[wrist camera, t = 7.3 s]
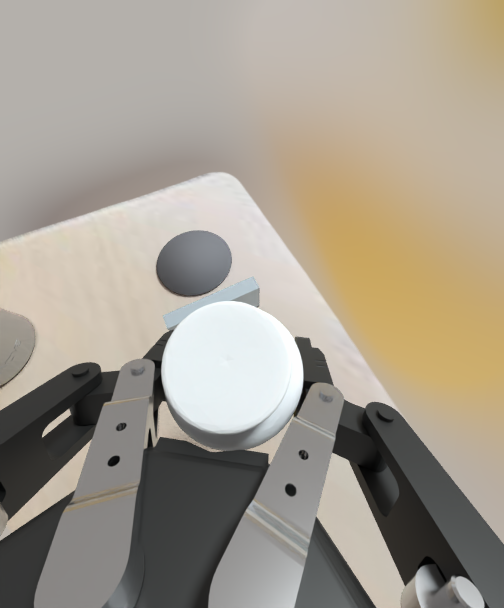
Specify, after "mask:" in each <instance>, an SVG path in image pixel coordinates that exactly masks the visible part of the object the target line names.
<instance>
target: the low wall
mask: <svg viewBox="0 0 504 608" xmlns="http://www.w3.org/2000/svg"><path fill="white" fill-rule="evenodd" d="M223 301H236V302H242V303H246V304H249V305H252V306H254V307H258V306H259V286H258V284H257V282H256V281H255V279H254V277H251V278H248V279H246V280H244V281H241V282H239V283H237V284H234V285H232V286H230V287H228V288H225V289H223V290H221V291H218V292H216V293H214V294H211V295H209V296H207V297H205V298H202V299H200V300H198V301H195V302H193V303H191V304H188V305H186V306H184V307H182V308H179V309H177V310H175V311H172V312H170V313H168V314H165V315H163V318H164V321H165V323H166V326H167V329H168V330H170V331H171V330H175V328H176V327H177V326H178V325H179V324H180V323H181V321H182V320H183V319H185V318H186V317H187V316H188V315H190V314H191V313H192V312H194V311H195V310H197V309H199V308H201V307H203V306H206V305H209V304H212V303H216V302H223Z"/></svg>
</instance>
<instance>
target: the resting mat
mask: <svg viewBox="0 0 504 608" xmlns="http://www.w3.org/2000/svg"><path fill="white" fill-rule="evenodd" d="M231 263H232V257H231V252H230V249H229V247H228V245H227V244H226V242H225V241H224V240H223V239H222V238H221V237H219V236H218V235H216V234H214V233H211V232H208V231H199V230H198V231H189V232H185V233H182V234H180V235H178V236H176V237H174V238H173V239H172V240H170V241H169V242H168V243H167V244H166V245H165V246H164V247H163V249H162V250H161V252H160V254H159V257H158V260H157V272H158V275H159V277H160V279H161V281H162V282H163V284H164V285H165V286H166V287H167V288H169V289H170V290H172V291H173V292H175V293H178V294H182V295H200V294H203V293H206V292H209V291H211V290H213V289H214V288H216V287H217V286H219V285H220V284H221V283H222V282H223V281H224V279H225V278H226V277H227V275H228V273H229V271H230V268H231Z"/></svg>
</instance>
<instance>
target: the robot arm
mask: <svg viewBox="0 0 504 608" xmlns="http://www.w3.org/2000/svg"><path fill="white" fill-rule="evenodd" d="M173 331H174V330H171V331H169V332H167V333H165V334H164V335H163V336H162V337H161V338H160V339H159V340H158V341H157V343H156V344H155V345H154V346H153V347H152V348H151V349H150V350H149V352H148V353H147V354H146V355H145V356H144V357H143V358H142V359H136V360H133V361H130V362H128V363H126V364H125V365H124V366H123V367H122V368H121V370H120V371H111V372H101V368H100V366H99V365H98V364H96V363H91V362H89V363H81V364H78V365H75V366H72V367H70V368H69V369H67V370H65V371H64V372H62V373H60V374H59V375H57V376H56V377H54V378H52V379H51V380H49V381H47V382H46V383H44V384H43V385H41V386H39V387H38V388H36V389H35V390H33V391H31V392H30V393H28V394H26V395H25V396H23V397H22V398H20V399H18V400H17V401H15V402H13V403H12V404H10V405H9V406H7V407H5V408H4V409H2V410H1V411H0V536H1V534H2V533H3V531H4V529H5V527H6V525H7V522H8V521H9V520H10V519H11V518H12V517H13V516H14V515H15V514H16V513H17V512H18V511H19V510H20V509H21V508H22V507H23V506H24V505H25V504H26V503H27V502H28V501H29V500H30V499H31V498H32V497H33V496H34V495H35V494H36V493H37V492H38V491H39V490H40V489H41V488H42V487H43V486H44V485H45V484H46V483H47V482H48V481H49V480H50V479H51V478H52V477H53V476H54V475H55V474H56V473H57V472H58V471H59V470H60V469H61V468H62V467H63V466H65V465H66V464H67V463H68V462H69V461H70V460H71V459H72V458H73V457H74V456H75V455H76V454H77V453H78V452H79V451H80V450H81V449H82V448H83V447H84V446H85V445H86V444H87V443H88V442H89V441H90V440H91V439H92V441H91V444H90V447H89V450H88V453H87V456H86V459H85V462H84V466H83V469H82V472H81V475H80V478H79V481H78V484H77V487H76V490H75V491H73V492H72V493H70V494H69V495H67V496H66V497H64V498H63V499H61V500H60V501H58V502H57V503H55V504H54V505H53V506H51V507H50V508H48V509H47V510H45V511H44V512H42V513H41V514H39V515H38V516H36V517H35V518H33V519H32V520H30V521H29V522H27V523H26V524H24V525H23V526H21V527H20V528H18V529H17V530H15V531H14V532H13V533H11V534H10V535H8V536H7V537H5V538H4V539H2V540H1V541H0V608H376V607H375V605H374V604H373V602H372V601H371V599H370V598H369V596H368V594H367V593H366V591H365V590H364V588H363V587H362V585H361V584H360V582H359V581H358V579H357V578H356V576H355V575H354V573H353V572H352V570H351V568H350V567H349V565H348V564H347V562H346V561H345V559H344V558H343V556H342V555H341V553H340V552H339V550H338V549H337V547H336V546H335V544H334V543H333V541H332V539H331V538H330V536H329V535H328V533H327V532H326V530H325V529H324V527H323V526H322V524H321V523H320V521H319V520H318V518H317V517H316V514H317V510H318V506H319V502H320V498H321V494H322V490H323V486H324V482H325V478H326V474H327V470H328V466H329V462H330V458H331V454H332V453H335V454H337V455H339V456H341V457H343V458H345V459H347V460H349V462H350V465H351V467H352V469H353V471H354V474H355V476H356V478H357V480H358V482H359V485H360V487H361V489H362V491H363V494H364V496H365V498H366V500H367V502H368V505H369V507H370V509H371V511H372V514H373V516H374V518H375V520H376V522H377V525H378V527H379V529H380V531H381V534H382V536H383V538H384V540H385V542H386V545H387V547H388V549H389V551H390V554H391V556H392V558H393V560H394V562H395V565H396V567H397V569H398V571H399V574H400V576H401V578H402V580H403V582H404V585H405V588H404V589H403V592H402V595H401V608H504V544H503V543H502V542H501V540H500V539H499V538H498V537H497V535H496V534H495V533H494V532H493V530H492V529H491V528H490V526H489V525H488V524H487V523H486V522H485V520H484V519H483V518H482V517H481V515H480V514H479V513H478V511H477V510H476V509H475V508H474V507H473V505H472V504H471V503H470V501H469V500H468V499H467V497H466V496H465V495H464V494H463V492H462V491H461V490H460V489H459V487H458V486H457V485H456V484H455V483H454V481H453V480H452V479H451V477H450V476H449V475H448V474H447V472H446V471H445V470H444V469H443V467H442V466H441V465H440V463H439V462H438V461H437V460H436V459H435V457H434V456H433V455H432V453H431V452H430V451H429V450H428V448H427V447H426V446H425V445H424V443H423V442H422V441H421V440H420V438H419V437H418V436H417V434H416V433H415V432H414V431H413V429H412V428H411V427H410V426H409V424H408V423H407V422H406V421H405V419H404V418H403V417H402V416H401V415H400V413H398V412H397V411H396V410H395V409H393V408H392V407H390V406H388V405H386V404H383V403H379V402H371V403H369V404H368V405H367V406H366V408H362V407H360V406H357V405H354V404H352V403H350V402H348V401H346V400H344V396H343V394H342V393H341V392H340V390H338V389H337V388H336V387H334V385H333V382H332V379H331V375H330V372H329V369H328V366H327V363H326V359H325V356H324V354H323V353H322V352H321V351H320V350H319V349H318V348H312V347H311V343H310V339H309V338H304V337H295V343H296V345H297V347H298V349H299V352H300V355H301V359H302V364H303V388H302V393H301V396H300V400H299V403H298V405H297V407H296V410H295V412H294V417H293V419H292V421H291V423H290V425H289V427H288V429H287V431H286V433H285V435H284V438H283V440H282V442H281V444H280V446H279V448H278V450H277V452H276V454H275V456H274V458H273V460H272V462H271V464H268V455H269V454H266V453H260V452H254V451H247V450H233V451H223V452H209V451H207V450H205V449H202V448H200V447H198V446H196V445H194V444H191V443H189V442H187V441H182V440H176V439H169V438H163V437H160V438H159V440H158V431H159V412H160V411H159V406H160V404H161V402H162V401H166V398H165V393H164V388H163V385H162V377H161V365H162V357H163V353H164V350H165V347H166V344H167V342H168V340H169V338H170V336H171V334H172V333H173ZM34 344H35V330H34V328H33V325H32V324H31V322H30V321H29V320H28V319H26V318H25V317H23V316H21V315H18V314H15V313H13V312H10V311H7V310H4V309H1V308H0V386H1V385H3V384H5V383H6V382H8V381H9V380H10V379H12V378H13V377H14V376H15V375H16V374H17V373H18V372H19V371H20V370H21V369H22V368H23V366H24V365H25V364H26V363H27V361H28V359H29V357H30V355H31V354H32V351H33V348H34ZM67 409H70V412H71V415H70V416H69V417H68V418H66V419H65V420H64V421H63V422H61V423H60V424H59V425H58V426H57V427H55V428H54V429H53V430H52V431H50V432H49V433H48V434H47V435H45V436H44V437H43V438H42V433H43V431H44V429H45V428H46V427H47V425H48V424H50V423H51V422H52V421H53V420H55V419H56V418H57V417H58V416H60V415H61V414H62V413H64V412H65V411H66V410H67Z"/></svg>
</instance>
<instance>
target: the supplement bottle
mask: <svg viewBox="0 0 504 608" xmlns="http://www.w3.org/2000/svg"><path fill="white" fill-rule="evenodd" d="M161 377H162V385H163V388H164V393H165V398H166V402H167V405H168V408H169V410H170V412H171V414H172V416H173V418H174V420H175V421H176V423H177V424H178V425H179V427H180V428H181V429H182V430H183V431H184V432H185V433H186V434H187V435H188V436H190V437H191V438H192V439H194V440H195V441H197V442H199V443H200V444H202V445H204V446H207V447H209V448H212V449H217V450H222V451H233V450H247V449H250V448H254V447H256V446H259V445H261V444H263V443H265V442H266V441H268V440H270V439H271V438H272V437H274V436H275V435H276V434H278V433H279V432H280V431H281V430H282V429H283V428H284V426H285V425H286V424H287V423H288V422H289V420H290V419H291V417H292V415H293V414H294V412H295V410H296V407H297V405H298V403H299V400H300V396H301V393H302V388H303V364H302V359H301V355H300V352H299V349H298V347H297V345H296V343H295V341H294V339H293V337H292V336H291V334H290V333H289V331H288V330H287V329H286V328H285V327H284V326H283V325H282V324H281V323H280V322H279V321H278V320H277V319H275V318H274V317H273V316H271V315H269V314H268V313H266V312H264V311H262V310H260V309H258V308H256V307H254V306H252V305H249V304H246V303H242V302H236V301H223V302H216V303H212V304H209V305H206V306H203V307H201V308H199V309H197V310H195V311H194V312H192V313H191V314H190V315H188V316H187V317H186V318H185V319H183V320H182V321H181V323H180V324H179V325H178V326H177V327H176V328H175V330H174V331H173V333H172V334H171V336H170V338H169V340H168V342H167V344H166V347H165V350H164V353H163V357H162V365H161Z"/></svg>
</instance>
